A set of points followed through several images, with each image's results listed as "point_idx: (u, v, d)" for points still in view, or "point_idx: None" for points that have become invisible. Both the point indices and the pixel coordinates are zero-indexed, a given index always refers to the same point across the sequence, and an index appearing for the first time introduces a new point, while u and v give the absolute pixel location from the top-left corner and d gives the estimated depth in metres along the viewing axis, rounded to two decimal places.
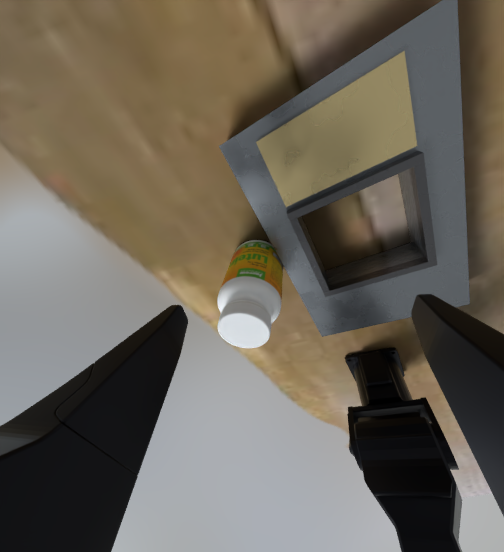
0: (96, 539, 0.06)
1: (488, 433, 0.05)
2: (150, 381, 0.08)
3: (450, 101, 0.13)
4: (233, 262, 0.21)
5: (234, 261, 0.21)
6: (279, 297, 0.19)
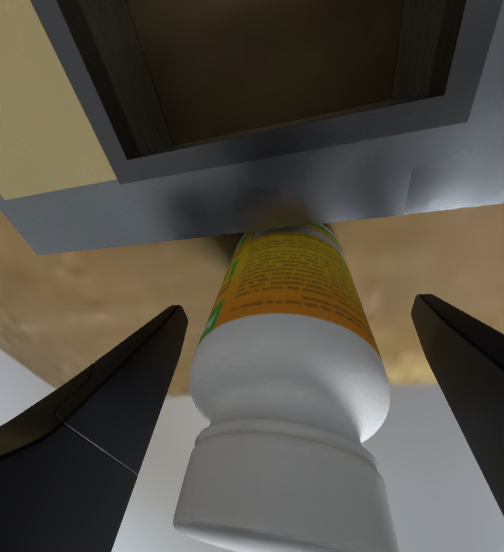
0: (96, 539, 0.06)
1: (488, 433, 0.05)
2: (150, 381, 0.08)
3: None
4: None
5: None
6: (287, 321, 0.05)
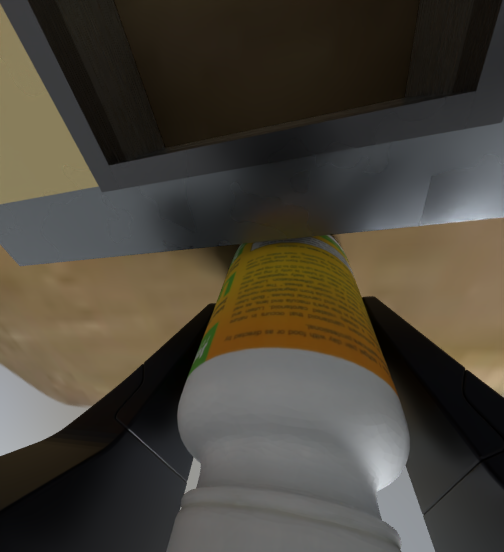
0: None
1: None
2: None
3: None
4: None
5: None
6: (290, 358, 0.04)
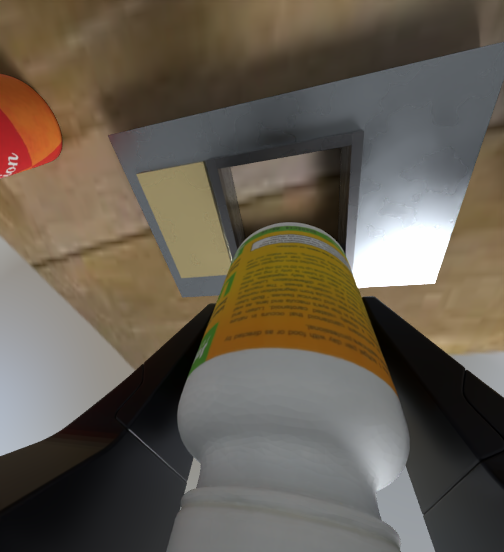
0: None
1: None
2: None
3: (173, 130, 0.14)
4: None
5: None
6: (290, 359, 0.04)
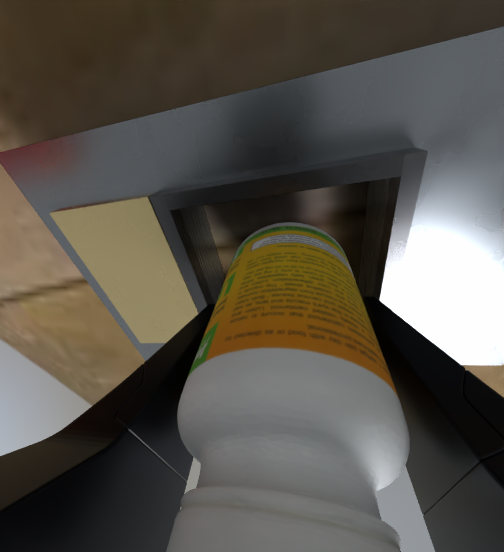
0: None
1: None
2: None
3: (94, 146, 0.09)
4: None
5: None
6: (290, 358, 0.04)
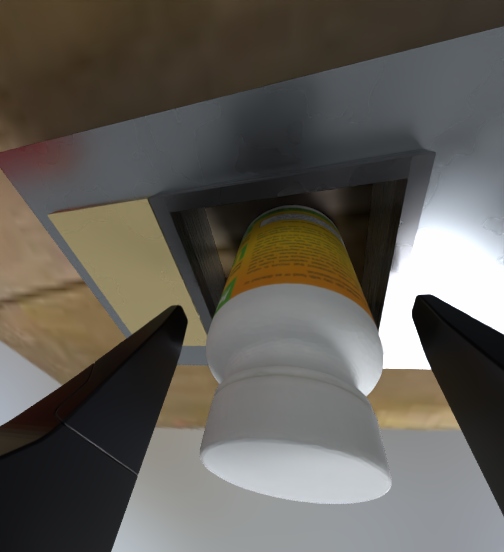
0: (96, 539, 0.06)
1: (488, 433, 0.05)
2: (150, 381, 0.08)
3: (92, 147, 0.08)
4: None
5: None
6: (294, 289, 0.06)
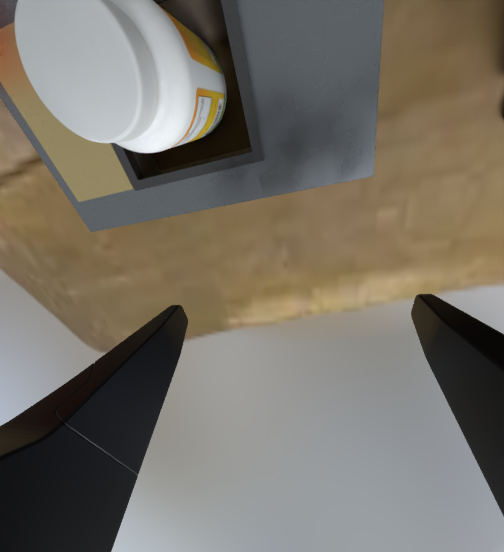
0: (96, 539, 0.06)
1: (488, 433, 0.05)
2: (150, 381, 0.08)
3: None
4: None
5: None
6: None
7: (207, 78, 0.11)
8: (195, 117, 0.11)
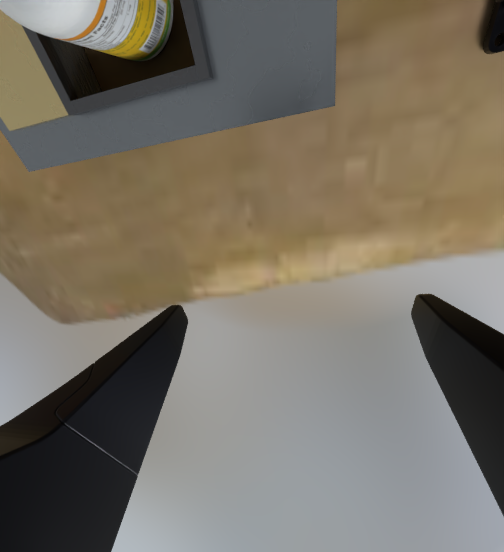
0: (96, 539, 0.06)
1: (488, 433, 0.05)
2: (150, 381, 0.08)
3: None
4: None
5: None
6: None
7: None
8: None
